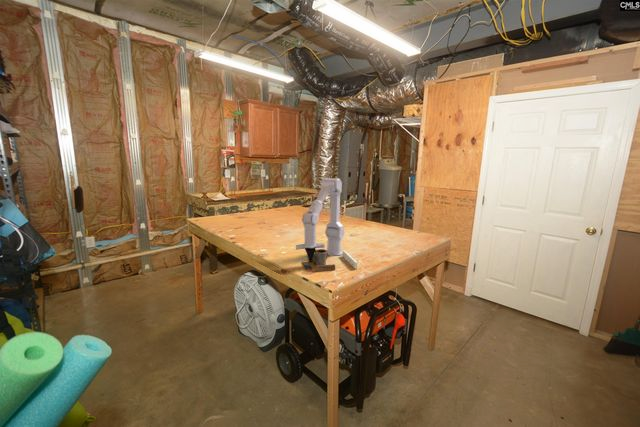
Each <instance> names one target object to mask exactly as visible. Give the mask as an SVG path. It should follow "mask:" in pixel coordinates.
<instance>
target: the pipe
mask: <svg viewBox="0 0 640 427" xmlns="http://www.w3.org/2000/svg"><path fill="white" fill-rule="evenodd" d="M327 254H328V253H327V249H325V248H317V249H316V252H315V253H314V255H313V258H312V261H313V262H314V263H316V266H321V265H327V264H326V263H327V259H326V255H327ZM327 256H328V255H327Z"/></svg>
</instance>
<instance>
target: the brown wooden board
mask: <svg viewBox="0 0 640 427" xmlns="http://www.w3.org/2000/svg"><path fill="white" fill-rule="evenodd" d="M327 256H328V255H326V260H327ZM308 261H309V259H308ZM325 271H336V264H326V265H321V266H317V265H315V266H314V272H325Z"/></svg>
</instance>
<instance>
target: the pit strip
mask: <svg viewBox="0 0 640 427" xmlns="http://www.w3.org/2000/svg"><path fill="white" fill-rule="evenodd" d="M301 265H302V266H303V268H304V270H306V271H307V270H313V267H312V265H311V264H310V263H309V261H302V262H301Z"/></svg>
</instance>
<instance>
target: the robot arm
mask: <svg viewBox="0 0 640 427" xmlns="http://www.w3.org/2000/svg"><path fill="white" fill-rule="evenodd" d="M342 185H343V182H342V180H341V179H340V178H338V177H337V178H331V177H330V178H329V177H328V178H327V177H323V178H322V180H321V182H320V189H319V192H318V195H317V197H316V199H315V200H313V201H312V202H311V204H310V207H308V209H307V212H305V213H303V215H302V218H301V221H302V223H303V225H302V226H303V227H304V243H301V244H296V245H295V250H297V251H298V250H305V252H306V253H305V254H306V255H307V257H308V259H309V260H308V262H309V263H313V262H312V261H313V260H312V258H313V255H314V253H315V252H316V250H317V249H325V243H323V242H317V224H318V223H319V219H320V218H319V217H320V213H321V211H322V209H323V207H324V205H323V202H324V201H325V199H326V198H327V197H328V194H329V195H330V211H329V212H330V214H329V215H330V218H329V219H330V222H328V223H327V224H326V228H325V237H327V240H326V241H327V242H326V243H327V244H326V250H327V254H328V255H329V256H330V257H333V256H343V251H341V250H342V239H343V238H344V236H345V230H344V225H343V224H342V223H341V222H340V215H341V214H340V213H341V212H340V210H341V208H340V207H341V193H342V192H343V190H342V189H343V188H342V187H343V186H342Z"/></svg>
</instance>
